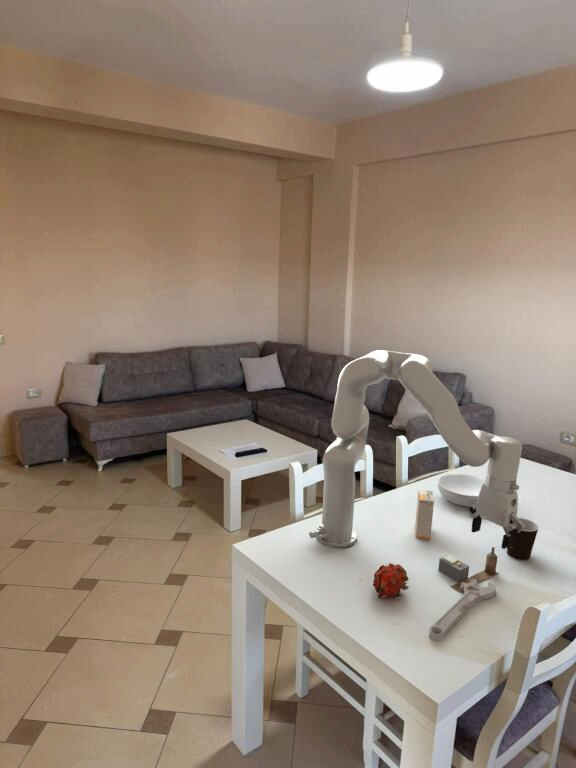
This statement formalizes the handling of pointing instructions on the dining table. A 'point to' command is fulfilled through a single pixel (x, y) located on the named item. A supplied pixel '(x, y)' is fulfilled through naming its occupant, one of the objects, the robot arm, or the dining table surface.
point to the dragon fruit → (390, 580)
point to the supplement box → (424, 514)
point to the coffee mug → (523, 541)
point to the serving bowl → (460, 488)
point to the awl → (491, 563)
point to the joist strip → (478, 577)
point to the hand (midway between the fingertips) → (490, 539)
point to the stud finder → (453, 568)
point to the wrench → (461, 607)
